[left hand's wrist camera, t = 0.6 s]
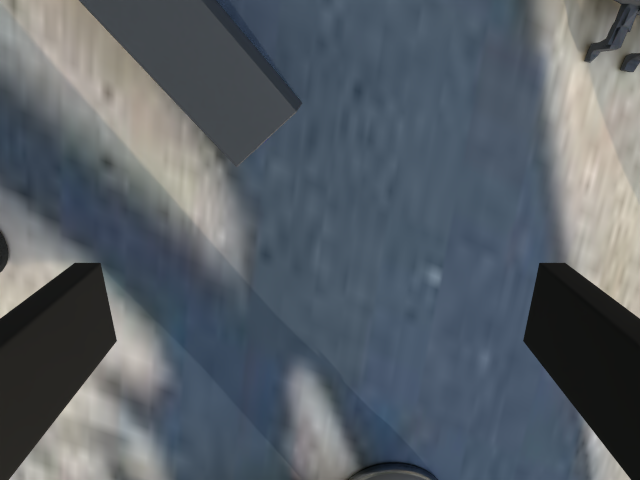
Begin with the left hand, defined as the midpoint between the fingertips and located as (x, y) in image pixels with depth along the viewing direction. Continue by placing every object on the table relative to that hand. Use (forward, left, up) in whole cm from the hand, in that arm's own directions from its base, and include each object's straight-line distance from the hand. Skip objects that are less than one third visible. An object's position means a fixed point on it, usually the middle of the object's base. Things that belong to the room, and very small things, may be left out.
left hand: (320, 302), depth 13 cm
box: (+10, +12, -30) cm, 34 cm away
